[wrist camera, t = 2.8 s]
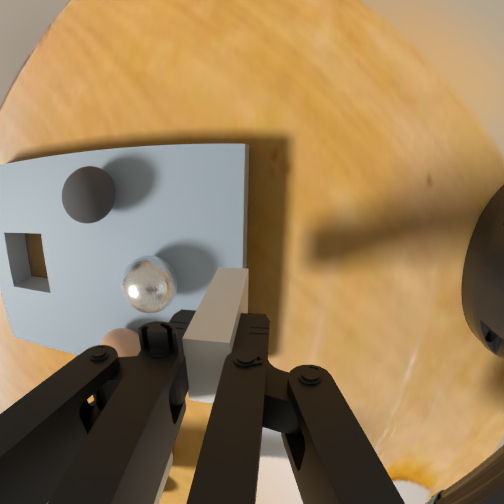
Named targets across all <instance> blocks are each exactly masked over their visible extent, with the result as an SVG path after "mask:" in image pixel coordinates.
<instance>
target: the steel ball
mask: <svg viewBox="0 0 504 504" xmlns="http://www.w3.org/2000/svg"><path fill="white" fill-rule="evenodd" d="M177 288H178V282H177V277H176V274H175V272H174V270H173V268H172V267H171V266H170V264H169V263H167V262H166V261H165V260H163V259H162V258H159V257H156V256H150V255H148V256H142V257H138V258H136V259H135V260H133V261H132V262H131V263H130V264H129V265H128V266H127V267H126V269H125V270H124V272H123V275H122V279H121V289H122V293H123V296H124V298H125V299H126V301H127V302H128V304H129V305H130V306H131V307H133V308H134V309H136V310H138V311H140V312H143V313H157V312H160V311H162V310H164V309H165V308H167V307H168V306H169V305H170V304H171V303H172V301H173V300H174V298H175V296H176V293H177Z"/></svg>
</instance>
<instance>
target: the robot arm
mask: <svg viewBox="0 0 504 504" xmlns="http://www.w3.org/2000/svg"><path fill="white" fill-rule="evenodd" d="M248 281H249V269H245V268H226V267H218V269H217V271H216V273H215V275H214V277H213V279H212V281H211V283H210V285H209V287H208V289H207V291H206V293H205V295H204V297H203V299H202V300H201V302H200V304H199V306H198V308H197V310H184V309H181V310H180V311H178V312H177V313H175V314H173V316H172V318H171V319H170V321H169V322H163V321H154V322H149V323H146V324H144V325H142V326H140V327H139V328H138V334H139V340H140V346H141V351H140V352H139V354H138V355H137V356H129V357H118V353H117V351H116V349H115V348H113V347H111V346H107V345H97V346H93V347H90V348H88V349H87V350H85V351H84V352H82V353H81V354H80V355H78V356H77V357H76V358H74V359H73V360H72V361H70V362H69V363H67V364H66V365H65V366H63V367H62V368H61V369H59V370H58V371H57V372H55V373H54V374H53V375H51V376H50V377H49V378H47V379H46V380H45V381H43V382H42V383H41V384H39V385H38V386H37V387H35V388H34V389H33V390H31V391H30V392H29V393H28V394H26V395H25V396H24V397H22V398H21V399H20V400H18V401H17V402H16V403H14V404H13V405H12V406H10V407H9V408H8V409H7V410H5V411H4V412H3V413H1V414H0V504H47V503H48V504H154V502H155V499H156V496H157V493H158V490H159V487H160V484H161V481H162V478H163V475H164V472H165V469H166V466H167V463H168V460H169V457H170V454H171V451H172V449H173V446H174V443H175V440H176V437H177V434H178V431H179V428H180V425H181V422H182V420H183V417H184V414H185V411H186V402H185V397H186V394H187V392H188V393H189V400H192V401H200V402H208V403H213V406H212V410H211V414H210V418H209V421H208V425H207V429H206V433H205V436H204V440H203V444H202V448H201V451H200V455H199V459H198V463H197V466H196V470H195V474H194V478H193V481H192V485H191V489H190V493H189V496H188V500H187V504H255V502H256V491H257V481H258V471H259V459H260V449H261V437H262V427H265V428H268V429H272V430H275V431H278V432H281V436H282V439H283V443H284V446H285V449H286V452H287V455H288V458H289V461H290V464H291V467H292V471H293V474H294V476H295V479H296V483H297V486H298V489H299V492H300V495H301V498H302V501H303V504H404V501H403V499H402V498H401V496H400V494H399V492H398V491H397V489H396V487H395V485H394V484H393V482H392V480H391V478H390V477H389V475H388V473H387V471H386V470H385V468H384V466H383V464H382V463H381V461H380V459H379V457H378V456H377V454H376V452H375V450H374V449H373V447H372V445H371V443H370V442H369V440H368V438H367V437H366V435H365V433H364V431H363V430H362V428H361V426H360V424H359V423H358V421H357V419H356V417H355V416H354V414H353V412H352V411H351V409H350V407H349V405H348V404H347V402H346V400H345V398H344V397H343V395H342V393H341V392H340V390H339V388H338V386H337V385H336V383H335V381H334V380H333V378H332V376H331V374H330V373H329V372H328V371H327V370H325V369H323V368H321V367H319V366H315V365H301V366H297V367H295V368H294V369H292V370H291V371H290V373H289V372H285V371H282V370H279V369H277V368H275V367H273V366H272V365H271V364H270V362H269V361H268V342H269V325H270V321H269V319H268V318H267V316H266V315H265V314H250V313H248ZM462 305H463V311H464V315H465V318H466V321H467V324H468V326H469V328H470V329H471V331H472V332H473V333H474V335H475V336H476V337H477V338H478V339H479V340H480V341H481V342H482V344H483V345H484V346H485V347H486V348H487V349H488V350H490V351H491V352H492V353H494V354H495V355H497V356H500V357H502V358H504V185H503V186H502V187H501V188H500V189H499V190H498V192H497V193H496V194H495V195H494V196H493V198H492V199H491V200H490V202H489V203H488V205H487V206H486V208H485V210H484V211H483V213H482V215H481V217H480V219H479V221H478V223H477V225H476V228H475V230H474V232H473V235H472V238H471V241H470V244H469V247H468V250H467V254H466V258H465V263H464V268H463V276H462ZM91 395H93V397H94V401H93V402H91V403H88V401H87V399H88V398H89V397H90V396H91ZM426 504H504V445H503V446H502V447H501V448H499V449H498V450H497V451H496V452H495V453H494V454H492V455H491V456H490V457H489V458H488V459H486V460H485V461H484V462H483V463H481V464H480V465H479V466H478V467H476V468H475V469H474V470H473V471H471V472H470V473H469V474H467V475H466V476H465V477H463V478H462V479H460V480H459V481H458V482H456V483H455V484H453V485H452V486H450V487H449V488H447V489H446V490H441V491H439V492H438V493H437V494H435V495H434V496H432V498H431V499H430V501H429V502H427V503H426Z"/></svg>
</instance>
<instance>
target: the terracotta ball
mask: <svg viewBox="0 0 504 504" xmlns="http://www.w3.org/2000/svg"><path fill="white" fill-rule="evenodd" d="M100 345H107V346H111V347H113V348H115V349H116V351H117V353H118V357H129V356H137V355H138V354H139V352H140V351H141V346H140V340H139V334H138V333H136V332H135V331H133V330H131V329H128V328H116V329H113V330H111V331H110V332H108V333H107V334H106V335H105V336H104V338H103V339H102V341H101V344H100Z"/></svg>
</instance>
